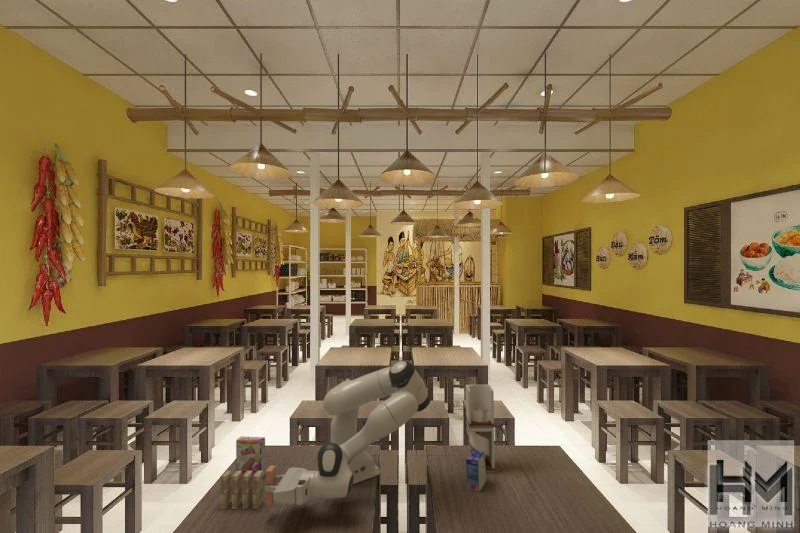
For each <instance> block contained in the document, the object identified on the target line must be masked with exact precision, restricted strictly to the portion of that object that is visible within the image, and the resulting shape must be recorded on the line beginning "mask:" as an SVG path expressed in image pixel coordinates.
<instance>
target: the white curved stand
mask: <svg viewBox="0 0 800 533" xmlns="http://www.w3.org/2000/svg"><path fill="white" fill-rule="evenodd" d="M494 398H495V396H494V389H493V388H492V387H491V385H490V384H465V420H466V421H465V423H466V426H467V430H468V456H469V455H470V454H471V449H472V448H474V449H475V451H480V452H485V472H486V474H496V472H495V471H496V470H495V469H496V467H495V466H496V465H495V461H496V460H495V411H494V410H495V409H494V408H495V407H494V406H495V404H494V401H495V400H494ZM473 451H474V450H473Z"/></svg>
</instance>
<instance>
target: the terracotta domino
mask: <svg viewBox="0 0 800 533" xmlns="http://www.w3.org/2000/svg"><path fill="white" fill-rule="evenodd" d="M276 472H277V468H276V465H274V464H273V465H269V467H268V468H267V469H265V486H266V485H267V484H268V485H269V484H271V486H277V485H276V483H277V482H276V476H277V473H276ZM274 503H275V502H274V501H273V493H272V492H270V491H265V506H266V507H268V506H269V507H272V506H273V504H274Z"/></svg>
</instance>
